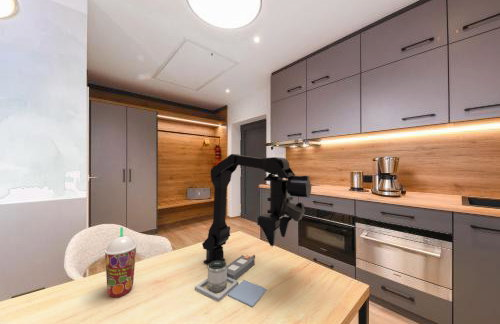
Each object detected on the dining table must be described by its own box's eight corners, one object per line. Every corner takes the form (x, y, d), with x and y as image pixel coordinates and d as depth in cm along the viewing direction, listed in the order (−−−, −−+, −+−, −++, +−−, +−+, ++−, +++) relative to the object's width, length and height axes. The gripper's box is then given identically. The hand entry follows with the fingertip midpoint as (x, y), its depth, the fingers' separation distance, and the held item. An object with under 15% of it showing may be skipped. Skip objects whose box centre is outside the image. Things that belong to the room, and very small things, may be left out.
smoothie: (101, 304, 56) (102, 233, 56) (106, 287, 63) (107, 225, 63) (135, 295, 60) (136, 229, 60) (136, 280, 67) (137, 222, 67)
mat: (227, 295, 60) (227, 294, 60) (243, 280, 68) (243, 279, 68) (252, 307, 55) (252, 306, 55) (267, 290, 63) (267, 288, 63)
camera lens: (226, 292, 61) (226, 267, 61) (206, 294, 61) (206, 268, 61) (226, 280, 67) (227, 258, 68) (208, 281, 67) (208, 258, 67)
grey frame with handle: (194, 289, 62) (194, 281, 62) (244, 254, 87) (244, 248, 87) (218, 301, 57) (218, 292, 57) (264, 260, 82) (264, 254, 82)
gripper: (291, 201, 54) (290, 258, 54) (310, 193, 69) (309, 237, 69) (256, 197, 60) (255, 249, 59) (281, 190, 75) (280, 231, 75)
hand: (277, 241), depth 66 cm, fingers open, 9 cm apart
